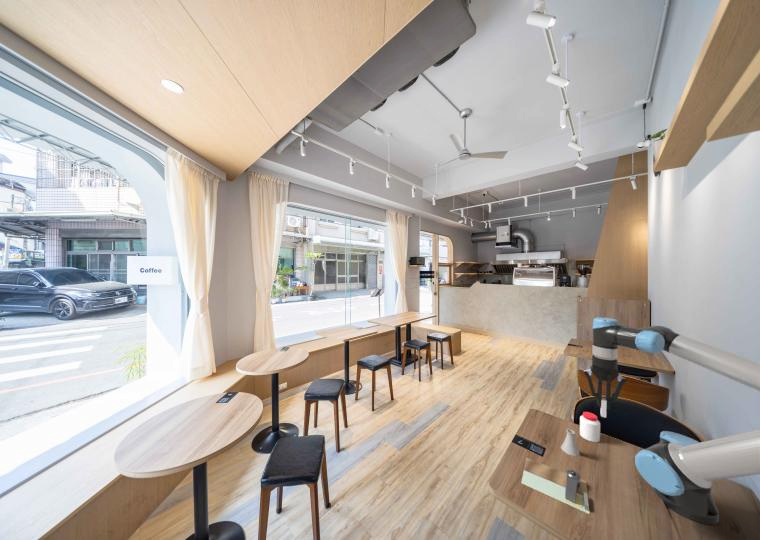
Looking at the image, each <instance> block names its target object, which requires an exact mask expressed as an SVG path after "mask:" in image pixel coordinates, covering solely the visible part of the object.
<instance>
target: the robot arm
mask: <svg viewBox="0 0 760 540" xmlns="http://www.w3.org/2000/svg"><path fill="white" fill-rule="evenodd" d="M618 346H619V347H624V348H629V349H632V350H636V351H641V352H643V353H650V354H655V355H658V354H660V353H662V352H663V351H664V352H667V353H669V354H671V355H674V356H676V357H678V358H681V359H682V360H685V361H688V362H690V363H693V364H695V365H697V366H700V367H702V368H704V369H707V370H709V371H711V372H713V373H716V374H718V375H721V376H723V377H726V378H728V379H730V380H731V381H734V382H737V383H740V384H741V385H744V386H746V387H749V388H751V389H753V390H756V391H758V392H760V363H758V362H755V361H753V360H750V359H747V358H745V357H741V356H740V355H739V356H738V355H736V354H733V353H731V352H728V351H725V350H722V349H721V348H717V347H714V346H712V345H709V344H706V343H703V342H701V341H698V340H696V339H693V338H689V337H687V336H685V335H682V334H679V333H677V332H675V331H674V330H672V328H669V327H668V326H664V325H652V326H647V327H639V328H635V327H628V326H623V325H619V321H618V320H617V319H615V318H611V317H610V318H609V317H595V318H594V319H593V322H592V347H591V348H592V350H591V351H592V355H591V366H590V368H588V369H584V370H583V373H584V375H585V376H586V378H587V381H588V385H589V388H590V389H589V390H590V393H591V396H593V397H595V398H596V404H597V407H599V408H600V413H599V414H600V417H601V418H607V410H611V402H617V401H618V399H619V396H620V393H621V390H622V389H623V385H624V384H626V383H627V379H626V377H624V376H621V374H620V372H619V371H618V360H617V359H618V356H619V355H618V353H619V352H618V349H619V348H618ZM592 374H593V375H594V376H595V378H596V379H597V383H596V384H597V385H596V386H597V389H595V387H594V383H593V379H592ZM616 378H617V379H616ZM614 380H617V382H616V384H615V386H614V389H613V392H612V391H611V390H612V389H611V388H612V387H611V386H612V381H614ZM603 381H605V398H604V397H603ZM595 390H597V391H595ZM611 392H612V393H611ZM611 394H612V395H611ZM634 464H635V467H636V469H637V471H638V473H639V475H641V477H642V478H643V479H644V481H645V482H646V483H648V484H649V485H650V486H651V489H652V490H653V492H654V494H655V495H657V497H659V499H660V500H662V502H663V504H664V505H665V506H666V507H668V508H669V509H670V510H672V511H673V512H675V513H678V514H679V515H681V516H683V517H685V518H687V519H689V520H692V521H694V522H697V523H701V524H707V525H716V524H718V523H719V522H720V512H719V509H718V507H717V504H716V502H715V500H714V497H713V494H712V483H713V481H718V480H726V479H734V478H740V477H741V478H742V477H750V476H756V475H757V476H758V475H760V429H759V428H758V429H755V430H751V431H746V432H742V433H737V434H733V435H727V436H723V437H719V438H715V439H710V440H705V441H701V442H699V441H698V440H695V439H693V438H691V437H688V436H687V435H683V434H680V433H676V432H673V431H670V430H668V431H667V430H663V431H661V432H660V435H659V442H658V443H656V444H652V445H651V446H649V447H646V448H644V449H641V450H639V451H638V453H637V454H636V455H635V457H634Z"/></svg>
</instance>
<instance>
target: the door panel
mask: <svg viewBox="0 0 760 540" xmlns="http://www.w3.org/2000/svg"><path fill="white" fill-rule="evenodd" d="M521 484H522V485H525V486H527V487H528V488H531V489H533V490H535V491H538V492H540V493H542V494H545V495H547V496H549V497H551V498H553V499H556V500H558V501H559V502H562V503H564V504H566V505H569V506H570V507H572V508H575V509H577V510H580V511H581V512H584V513H585V514H588V515H590V513H591V512H590V505H589V496H587V495H588V492H587V493H585V492H584V495H583V494H581V493H578V492H577V495H576V502H575V503H573V502H571V501H569V500H567V499H565V490H566V487H564V486H562V485H559V484H557V483H555V482H552V481H550V480H548V479H545V478H543V477H541V476H538V475H536V474H534V473H531V472H529V471H526V470H524V469H523V472H522V477H521Z"/></svg>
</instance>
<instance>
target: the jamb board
mask: <svg viewBox="0 0 760 540" xmlns="http://www.w3.org/2000/svg"><path fill="white" fill-rule="evenodd" d="M524 470H525V471H527V472H530V473H532V474H535V475H537V476H539V477H542V478H544V479H546V480H549V481H551V482H553V483H556V484H558V485H560V486H563V487H565V488H566V485H567V472H564V471H561V470H559V469H556V468H553V467H551V466H549V465H546V464H544V463H541V462H539V461H536V460H534V459H531V458H528V457H526V458H525V463H524V467H523V471H524ZM584 492H585V493H587V496H588V488H587V481H586V480H584V479H582V478H580V486H579V487H578V488H577V493H579V494H582V495H584ZM588 497H589V496H588Z"/></svg>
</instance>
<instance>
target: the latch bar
mask: <svg viewBox="0 0 760 540" xmlns="http://www.w3.org/2000/svg"><path fill="white" fill-rule="evenodd" d="M566 474H567V485H566V487H565V488H566V490H565V499H567V500H569V501H571V502H573V503H575V502H576V495H577V493H578V492H577V488H578V487H579V486H580V479H581V475H580V474H579V473H578V472H576V471H575V470H572V469H568V470H566Z"/></svg>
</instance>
